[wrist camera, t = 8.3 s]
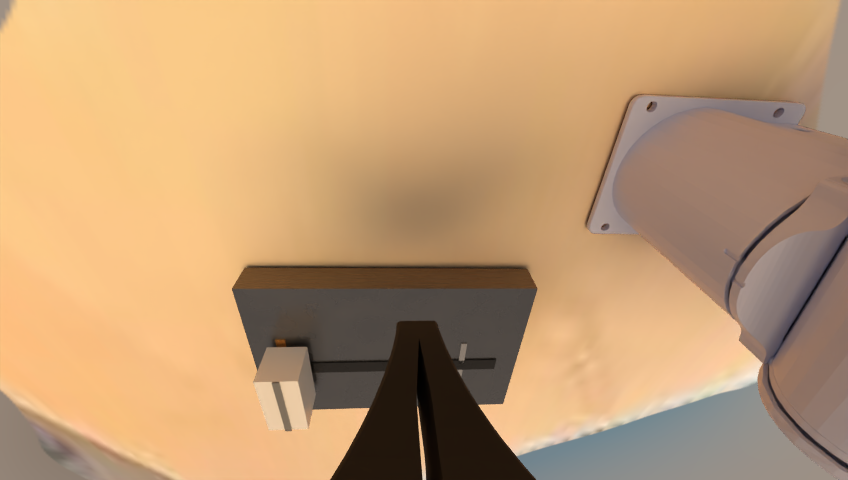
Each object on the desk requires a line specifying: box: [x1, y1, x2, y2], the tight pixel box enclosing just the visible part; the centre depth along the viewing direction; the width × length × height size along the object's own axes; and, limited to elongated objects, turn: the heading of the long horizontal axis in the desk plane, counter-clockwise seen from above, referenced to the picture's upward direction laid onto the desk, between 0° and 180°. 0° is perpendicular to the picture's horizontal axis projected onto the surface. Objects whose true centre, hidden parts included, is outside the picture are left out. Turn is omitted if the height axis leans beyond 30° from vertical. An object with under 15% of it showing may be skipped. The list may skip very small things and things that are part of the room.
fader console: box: [232, 268, 537, 409], centre depth 25 cm, size 18×12×2 cm, turn 87°
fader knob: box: [253, 347, 316, 431], centre depth 22 cm, size 2×5×3 cm, turn 176°
